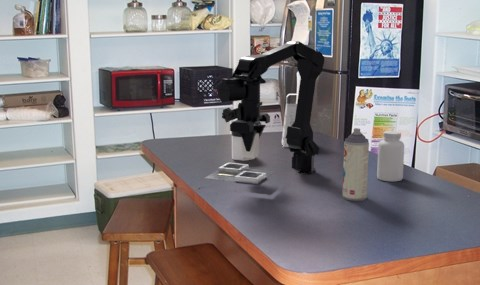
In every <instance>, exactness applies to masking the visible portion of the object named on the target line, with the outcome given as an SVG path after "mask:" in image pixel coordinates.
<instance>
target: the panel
mask: <svg viewBox="0 0 480 285" xmlns="http://www.w3.org/2000/svg"><path fill="white" fill-rule="evenodd" d="M275 173H277V172H276V171H274V170H265V169H255V168H250V166H249V164H246V163H238V162H237V163H235V162H226V163H225V164H223V165H221V166H218V170H216V171H214V172H212V173H211V174H208V175H207V176H205V177H204V180H205V179H206V180H216V181H223V182H224V181H225V182H234V183H235V182H236V183H244V184H252V185H260V184H261V183H262V182H264V181H265V180H266V179H268V178H269V177H270V176H271V175H273V174H275Z"/></svg>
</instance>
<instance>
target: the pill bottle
mask: <svg viewBox="0 0 480 285" xmlns="http://www.w3.org/2000/svg"><path fill="white" fill-rule="evenodd" d="M382 134H383V135H382V136H383V137H382V140H380V141H379V142H378V145H377V146H378V147H377V165H376V166H377V168H376V169H377V170H376V178H377V179H378V180H380V181H384V182H391V183H392V182H400V181H402V180H403V177H404V163H405V161H404V160H405V144H404V142H403V141H402V140H401V137H402V133H401V132H400V131H396V130H394V131H393V130H387V131H386V130H385V131H383V133H382Z"/></svg>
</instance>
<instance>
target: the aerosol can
mask: <svg viewBox="0 0 480 285" xmlns="http://www.w3.org/2000/svg"><path fill="white" fill-rule="evenodd" d="M369 149H370V143H369V138H366V136H365V135H364V134H363V133H362V132H361V129H360V128H359V127H358V128H353V132H351V134H349V135H348V137H345V138H344V143H343V164H342V166H343V168H342V169H343V172H342V199H343V200H345V201H348V202H363V201H366V200H367V198H368V196H367V195H368V173H369V170H368V169H369V153H370V152H369Z"/></svg>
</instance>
